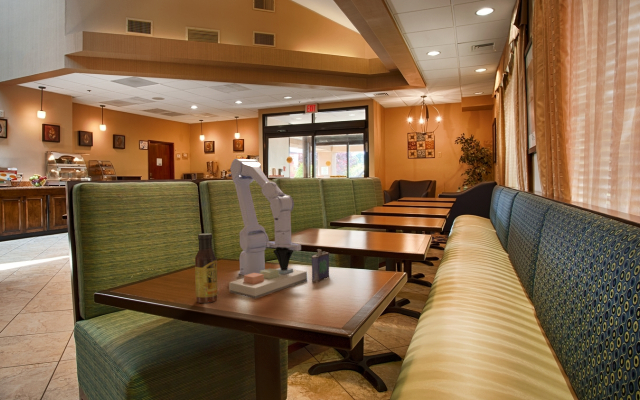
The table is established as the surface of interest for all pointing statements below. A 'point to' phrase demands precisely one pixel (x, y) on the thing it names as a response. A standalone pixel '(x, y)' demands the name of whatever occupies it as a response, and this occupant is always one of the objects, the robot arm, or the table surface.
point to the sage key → (270, 273)
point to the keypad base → (267, 284)
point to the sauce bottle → (205, 270)
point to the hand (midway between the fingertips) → (284, 269)
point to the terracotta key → (253, 278)
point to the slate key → (285, 271)
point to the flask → (320, 266)
